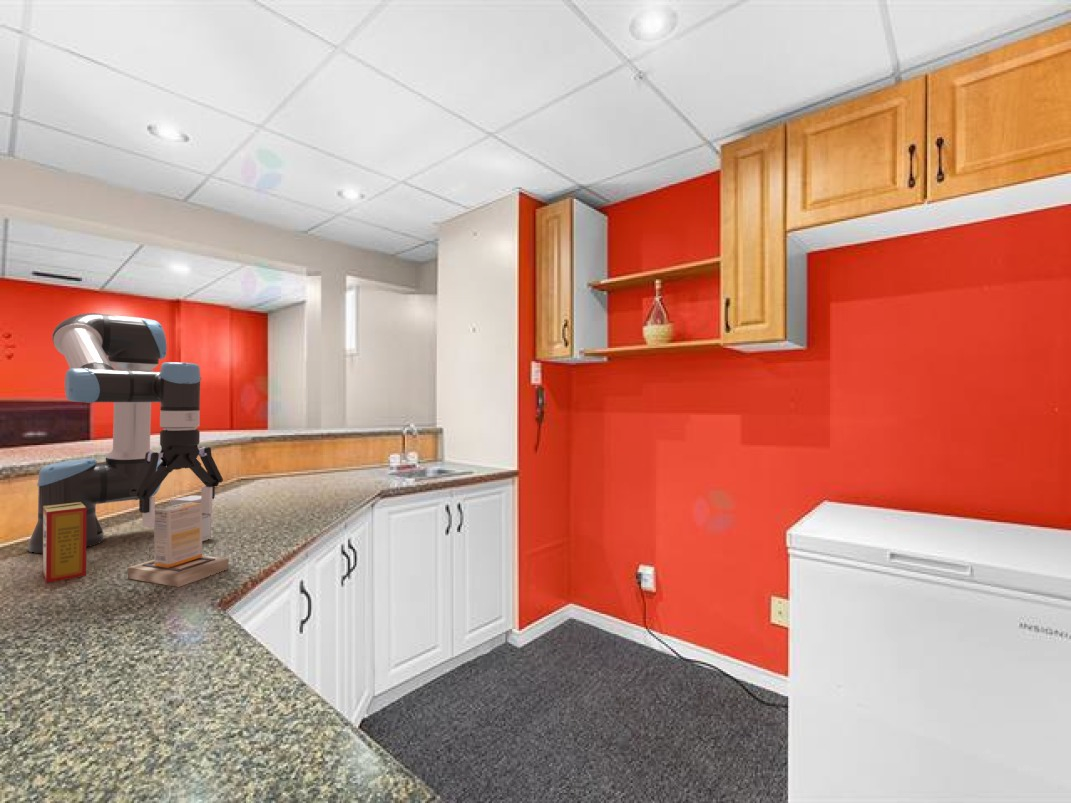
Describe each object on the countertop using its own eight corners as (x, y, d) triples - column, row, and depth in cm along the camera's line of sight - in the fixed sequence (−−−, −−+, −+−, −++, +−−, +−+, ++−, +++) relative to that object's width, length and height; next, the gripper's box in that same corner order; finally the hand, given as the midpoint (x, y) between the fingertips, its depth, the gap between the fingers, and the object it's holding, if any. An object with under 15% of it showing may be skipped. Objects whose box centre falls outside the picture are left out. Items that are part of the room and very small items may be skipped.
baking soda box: (86, 575, 115) (86, 506, 115) (46, 582, 110) (46, 510, 110) (80, 566, 121) (80, 500, 121) (42, 572, 116) (43, 504, 116)
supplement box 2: (188, 555, 120) (188, 501, 120) (202, 557, 119) (203, 503, 119) (152, 566, 113) (152, 508, 113) (167, 568, 111) (168, 510, 111)
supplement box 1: (190, 546, 138) (190, 500, 138) (167, 544, 139) (168, 499, 139) (212, 539, 145) (212, 495, 145) (191, 537, 146) (191, 494, 146)
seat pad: (127, 578, 113) (127, 566, 113) (180, 562, 124) (180, 550, 124) (178, 587, 108) (178, 574, 108) (228, 569, 119) (228, 557, 119)
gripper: (133, 432, 103) (132, 535, 103) (239, 426, 127) (238, 509, 127) (108, 431, 105) (108, 531, 105) (217, 425, 129) (216, 507, 129)
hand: (179, 519), depth 116 cm, fingers open, 13 cm apart
